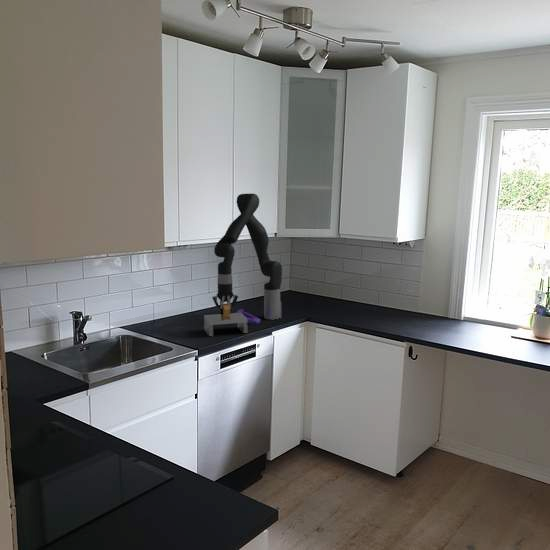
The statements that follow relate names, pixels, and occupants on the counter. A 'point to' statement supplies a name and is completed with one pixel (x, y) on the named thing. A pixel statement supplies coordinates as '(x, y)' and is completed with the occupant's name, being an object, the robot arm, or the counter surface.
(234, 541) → the counter surface
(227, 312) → the orange rectangular block
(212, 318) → the grey slotted platform
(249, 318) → the bracket
